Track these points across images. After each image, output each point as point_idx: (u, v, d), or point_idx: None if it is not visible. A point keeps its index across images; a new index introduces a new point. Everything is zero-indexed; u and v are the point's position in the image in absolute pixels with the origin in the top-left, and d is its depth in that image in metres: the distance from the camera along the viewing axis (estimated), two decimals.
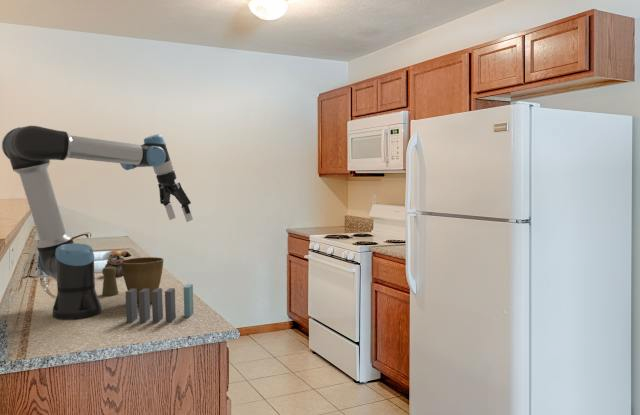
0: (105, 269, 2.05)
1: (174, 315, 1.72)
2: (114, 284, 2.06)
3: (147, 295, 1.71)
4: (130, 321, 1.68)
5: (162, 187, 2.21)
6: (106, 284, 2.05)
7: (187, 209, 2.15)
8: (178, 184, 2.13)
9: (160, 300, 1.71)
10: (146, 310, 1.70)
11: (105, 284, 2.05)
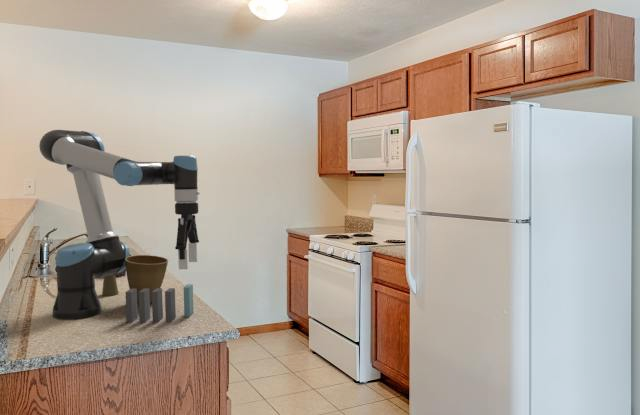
0: None
1: (174, 315, 1.72)
2: (114, 284, 2.06)
3: (147, 295, 1.71)
4: (130, 321, 1.68)
5: None
6: (106, 284, 2.05)
7: (181, 254, 1.68)
8: (183, 220, 1.68)
9: (160, 300, 1.71)
10: (146, 310, 1.70)
11: (105, 284, 2.05)
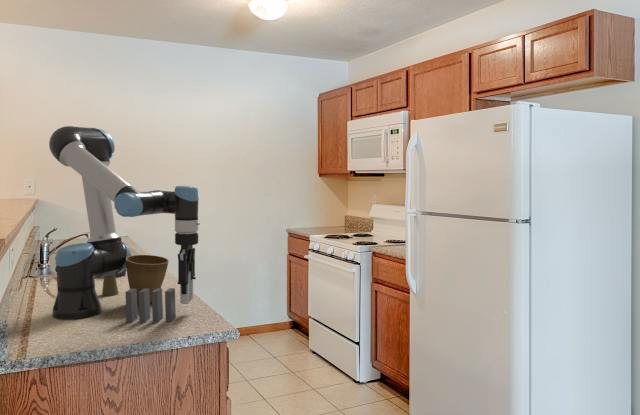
0: None
1: (174, 315, 1.72)
2: (114, 284, 2.06)
3: (147, 295, 1.71)
4: (130, 321, 1.68)
5: None
6: (106, 284, 2.05)
7: (182, 289, 1.72)
8: (182, 256, 1.69)
9: (160, 300, 1.71)
10: (146, 310, 1.70)
11: (105, 284, 2.05)
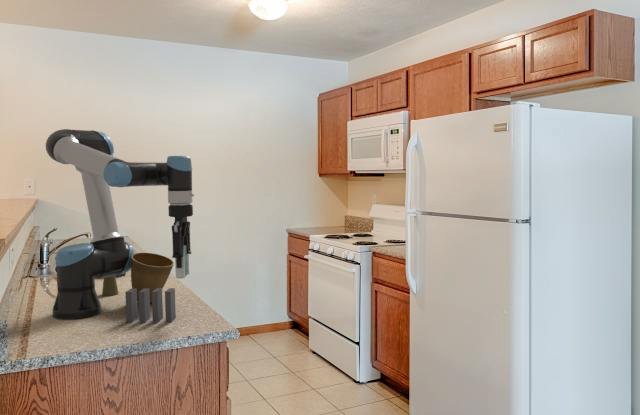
0: None
1: (174, 315, 1.72)
2: (114, 284, 2.06)
3: (147, 295, 1.71)
4: (130, 321, 1.68)
5: None
6: (106, 284, 2.05)
7: (178, 262, 1.65)
8: (176, 228, 1.62)
9: (160, 300, 1.71)
10: (146, 310, 1.70)
11: (105, 284, 2.05)
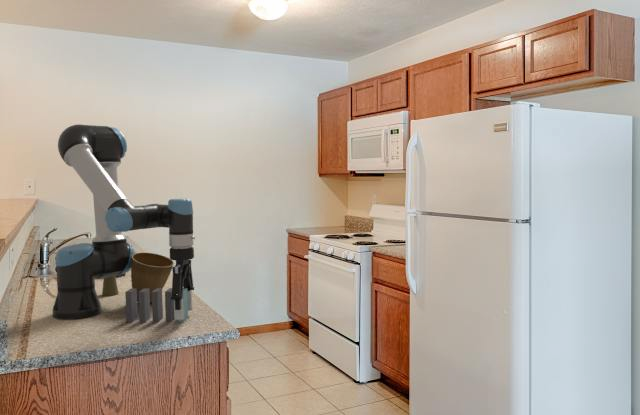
0: None
1: None
2: (114, 284, 2.06)
3: (147, 295, 1.71)
4: (130, 321, 1.68)
5: None
6: (106, 284, 2.05)
7: (176, 304, 1.63)
8: (177, 269, 1.63)
9: (160, 300, 1.71)
10: (146, 310, 1.70)
11: (105, 284, 2.05)
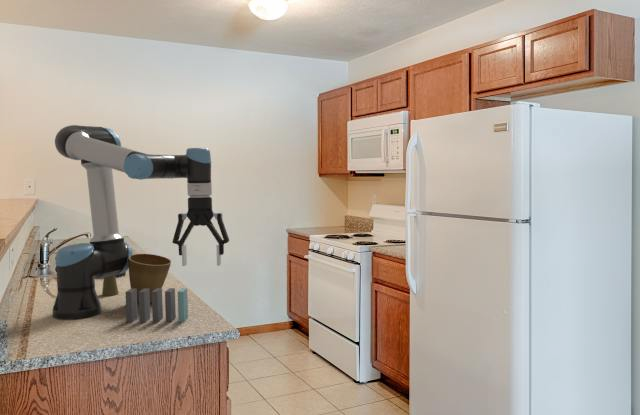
0: None
1: (174, 315, 1.72)
2: (114, 284, 2.06)
3: (147, 295, 1.71)
4: (130, 321, 1.68)
5: None
6: (106, 284, 2.05)
7: None
8: None
9: (160, 300, 1.71)
10: (146, 310, 1.70)
11: (105, 284, 2.05)
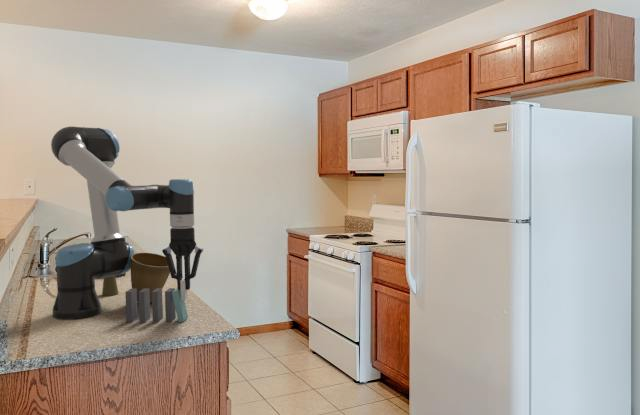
0: None
1: (174, 315, 1.72)
2: (114, 284, 2.06)
3: (147, 295, 1.71)
4: (130, 321, 1.68)
5: None
6: (106, 284, 2.05)
7: None
8: None
9: (160, 300, 1.71)
10: (146, 310, 1.70)
11: (105, 284, 2.05)
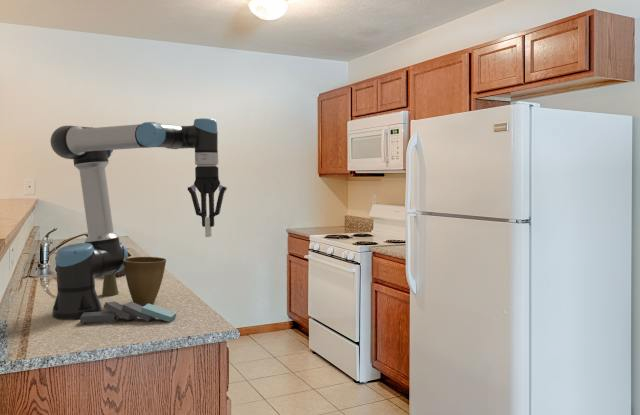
0: None
1: None
2: (114, 284, 2.06)
3: (88, 313, 1.70)
4: (112, 322, 1.68)
5: None
6: (106, 284, 2.05)
7: None
8: None
9: (118, 306, 1.73)
10: (103, 313, 1.70)
11: (105, 284, 2.05)
